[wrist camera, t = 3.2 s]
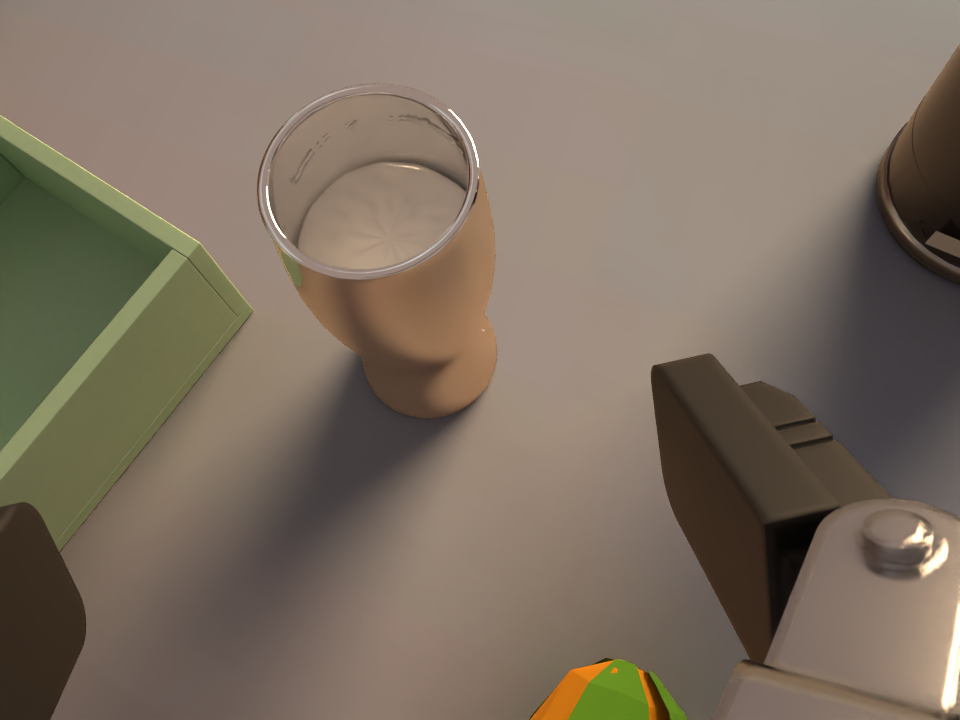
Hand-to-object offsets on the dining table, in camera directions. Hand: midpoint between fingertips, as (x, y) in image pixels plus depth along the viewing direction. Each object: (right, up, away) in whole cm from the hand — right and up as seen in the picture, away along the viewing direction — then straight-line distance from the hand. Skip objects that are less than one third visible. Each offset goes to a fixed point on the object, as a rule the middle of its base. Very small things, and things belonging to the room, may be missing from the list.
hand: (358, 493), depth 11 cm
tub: (-20, +1, +29) cm, 35 cm away
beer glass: (-1, +2, +28) cm, 28 cm away
